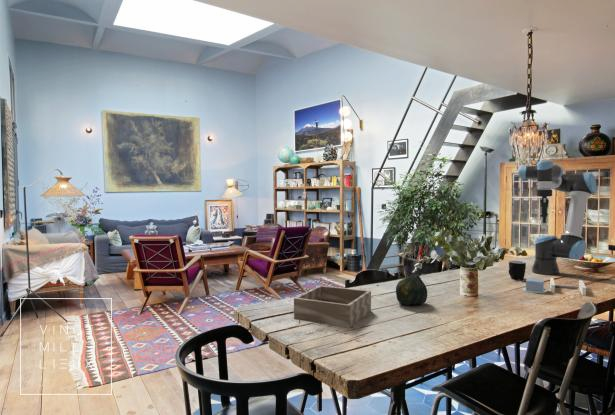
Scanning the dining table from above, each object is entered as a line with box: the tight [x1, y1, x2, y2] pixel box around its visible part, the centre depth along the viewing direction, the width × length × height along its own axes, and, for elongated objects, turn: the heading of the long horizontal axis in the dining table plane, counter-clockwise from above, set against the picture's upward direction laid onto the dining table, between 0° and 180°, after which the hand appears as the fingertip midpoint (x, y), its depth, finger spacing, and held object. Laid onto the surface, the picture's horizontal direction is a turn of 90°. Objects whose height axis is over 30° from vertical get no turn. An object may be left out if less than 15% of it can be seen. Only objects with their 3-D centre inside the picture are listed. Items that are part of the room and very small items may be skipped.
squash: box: [395, 273, 428, 306], centre depth 203 cm, size 14×15×15 cm
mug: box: [508, 260, 527, 281], centre depth 251 cm, size 12×9×10 cm
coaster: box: [522, 286, 548, 294], centre depth 225 cm, size 11×11×1 cm
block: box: [525, 277, 545, 292], centre depth 225 cm, size 8×8×5 cm
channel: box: [549, 277, 587, 297], centre depth 225 cm, size 18×15×4 cm
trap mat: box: [555, 284, 579, 290], centre depth 230 cm, size 4×10×1 cm, turn 62°
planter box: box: [293, 285, 372, 329], centre depth 187 cm, size 25×25×9 cm
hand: (543, 227), depth 236 cm, fingers open, 13 cm apart
